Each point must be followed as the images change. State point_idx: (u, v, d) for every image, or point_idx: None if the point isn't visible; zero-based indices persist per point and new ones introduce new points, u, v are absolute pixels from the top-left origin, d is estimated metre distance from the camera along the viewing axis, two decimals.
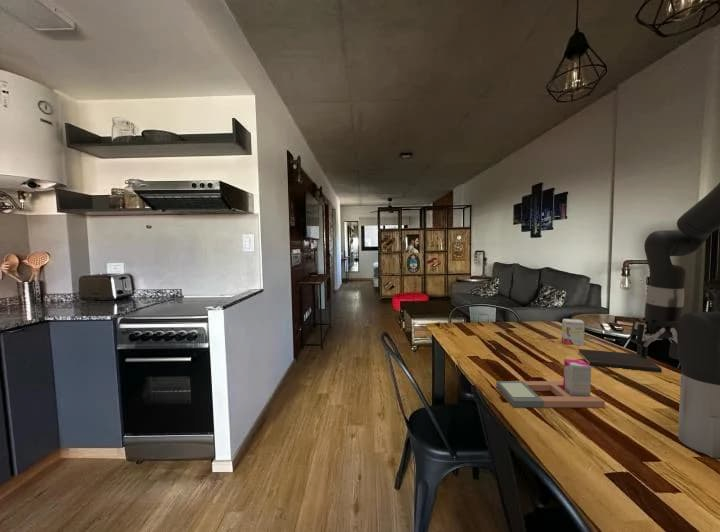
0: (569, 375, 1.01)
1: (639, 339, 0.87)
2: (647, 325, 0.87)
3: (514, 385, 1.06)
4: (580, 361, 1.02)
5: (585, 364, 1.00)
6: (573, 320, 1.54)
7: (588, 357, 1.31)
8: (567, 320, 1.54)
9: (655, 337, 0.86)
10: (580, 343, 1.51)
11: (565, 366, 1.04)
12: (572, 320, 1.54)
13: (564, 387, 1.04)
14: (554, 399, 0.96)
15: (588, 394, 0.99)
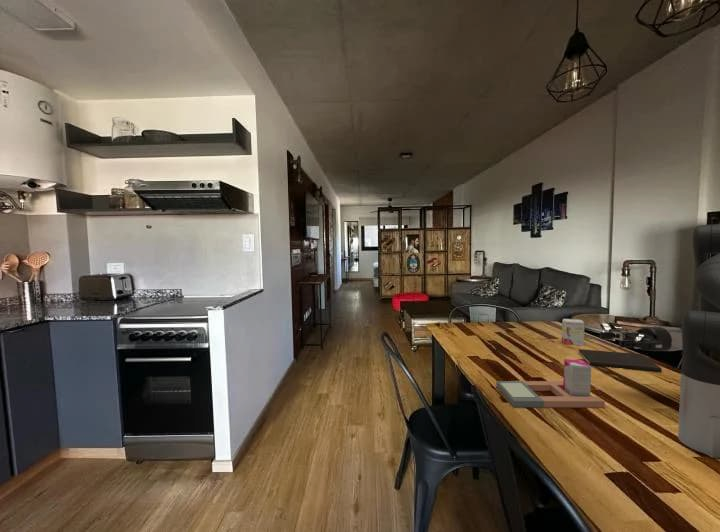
0: (569, 375, 1.01)
1: None
2: None
3: (514, 385, 1.06)
4: (580, 361, 1.02)
5: (585, 364, 1.00)
6: (573, 320, 1.54)
7: (588, 357, 1.31)
8: (567, 320, 1.54)
9: (624, 331, 1.03)
10: (580, 343, 1.51)
11: (565, 366, 1.04)
12: (572, 320, 1.54)
13: (564, 387, 1.04)
14: (554, 399, 0.96)
15: (588, 394, 0.99)
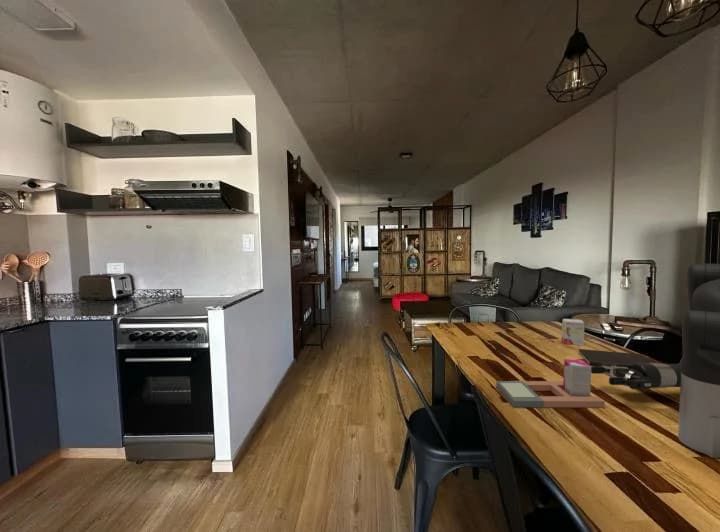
0: (569, 375, 1.01)
1: (604, 364, 1.08)
2: None
3: (514, 385, 1.06)
4: (580, 361, 1.02)
5: (585, 364, 1.00)
6: (573, 320, 1.54)
7: (588, 357, 1.31)
8: (567, 320, 1.54)
9: (615, 366, 1.04)
10: (580, 343, 1.51)
11: (565, 366, 1.04)
12: (572, 320, 1.54)
13: (564, 387, 1.04)
14: (554, 399, 0.96)
15: (588, 394, 0.99)
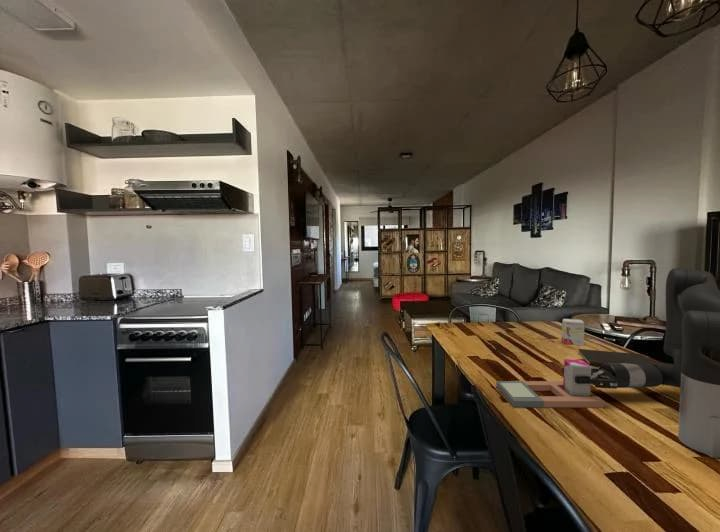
0: (569, 375, 1.01)
1: None
2: None
3: (514, 385, 1.06)
4: (580, 361, 1.02)
5: (585, 364, 1.00)
6: (573, 320, 1.54)
7: (588, 357, 1.31)
8: (567, 320, 1.54)
9: None
10: (580, 343, 1.51)
11: (565, 366, 1.04)
12: (572, 320, 1.54)
13: (564, 387, 1.04)
14: (554, 399, 0.96)
15: (588, 394, 0.99)
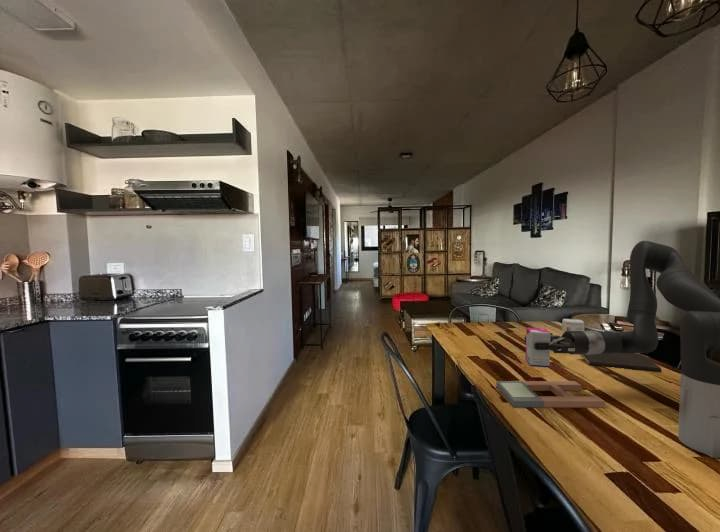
0: (529, 342, 1.01)
1: None
2: None
3: (514, 385, 1.06)
4: (541, 329, 1.03)
5: (545, 331, 1.00)
6: (573, 320, 1.54)
7: (588, 357, 1.31)
8: (567, 320, 1.54)
9: None
10: None
11: (527, 334, 1.04)
12: (572, 320, 1.54)
13: (526, 355, 1.05)
14: (554, 399, 0.96)
15: (548, 360, 0.99)
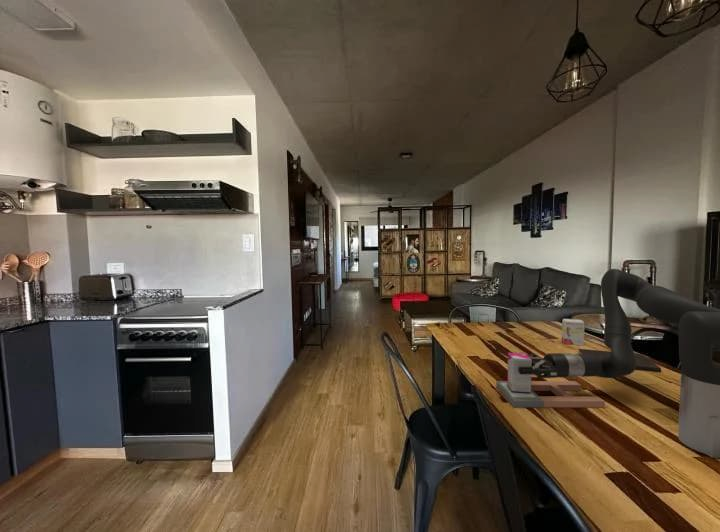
0: (511, 368, 1.02)
1: None
2: None
3: None
4: (522, 354, 1.03)
5: (526, 357, 1.01)
6: (573, 320, 1.54)
7: None
8: (567, 320, 1.54)
9: None
10: (580, 343, 1.51)
11: (508, 359, 1.04)
12: (572, 320, 1.54)
13: (508, 380, 1.05)
14: (554, 399, 0.96)
15: (529, 387, 1.00)
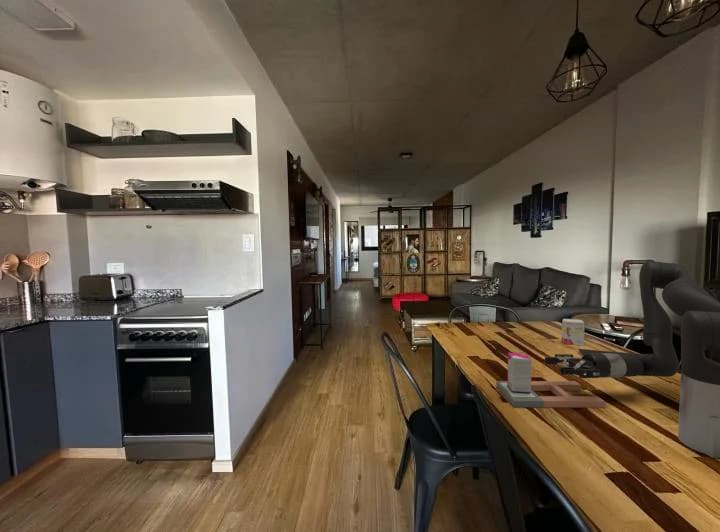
0: (511, 368, 1.02)
1: (559, 354, 1.08)
2: None
3: None
4: (522, 354, 1.03)
5: (526, 357, 1.01)
6: (573, 320, 1.54)
7: None
8: (567, 320, 1.54)
9: (568, 357, 1.04)
10: (580, 343, 1.51)
11: (508, 359, 1.04)
12: (572, 320, 1.54)
13: (508, 380, 1.05)
14: (554, 399, 0.96)
15: (529, 387, 1.00)
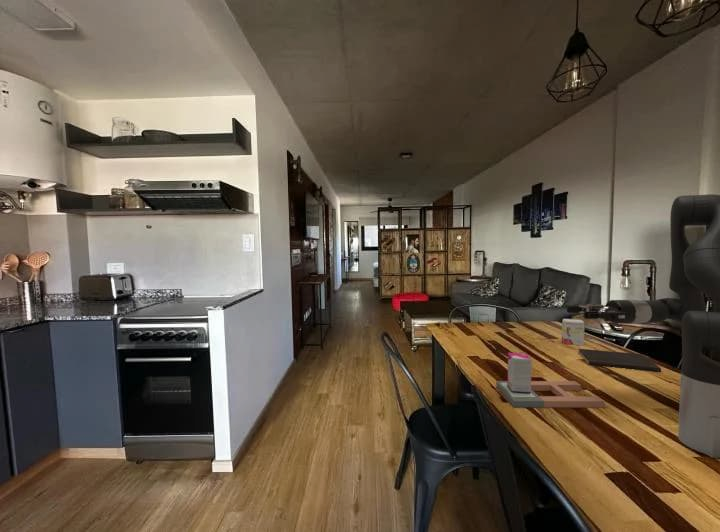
0: (511, 368, 1.02)
1: (581, 304, 1.07)
2: None
3: None
4: (522, 354, 1.03)
5: (526, 357, 1.01)
6: (573, 320, 1.54)
7: (587, 357, 1.32)
8: (567, 320, 1.54)
9: (591, 305, 1.03)
10: (580, 343, 1.51)
11: (508, 359, 1.04)
12: (572, 320, 1.54)
13: (508, 380, 1.05)
14: (554, 399, 0.96)
15: (529, 387, 1.00)
